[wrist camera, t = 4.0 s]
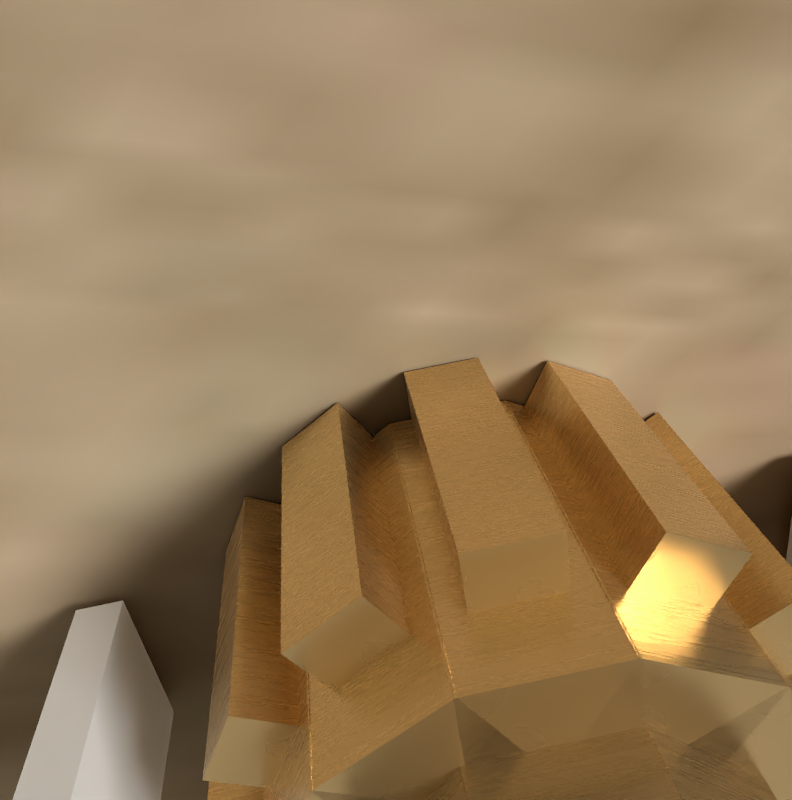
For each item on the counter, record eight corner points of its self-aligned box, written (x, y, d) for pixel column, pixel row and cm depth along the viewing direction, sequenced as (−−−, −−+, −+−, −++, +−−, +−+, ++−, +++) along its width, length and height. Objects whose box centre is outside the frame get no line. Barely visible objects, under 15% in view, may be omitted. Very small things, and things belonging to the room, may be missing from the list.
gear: (160, 420, 11) (36, 858, 5) (714, 310, 11) (1116, 619, 6) (289, 770, 15) (290, 1219, 9) (691, 684, 15) (915, 1070, 10)
